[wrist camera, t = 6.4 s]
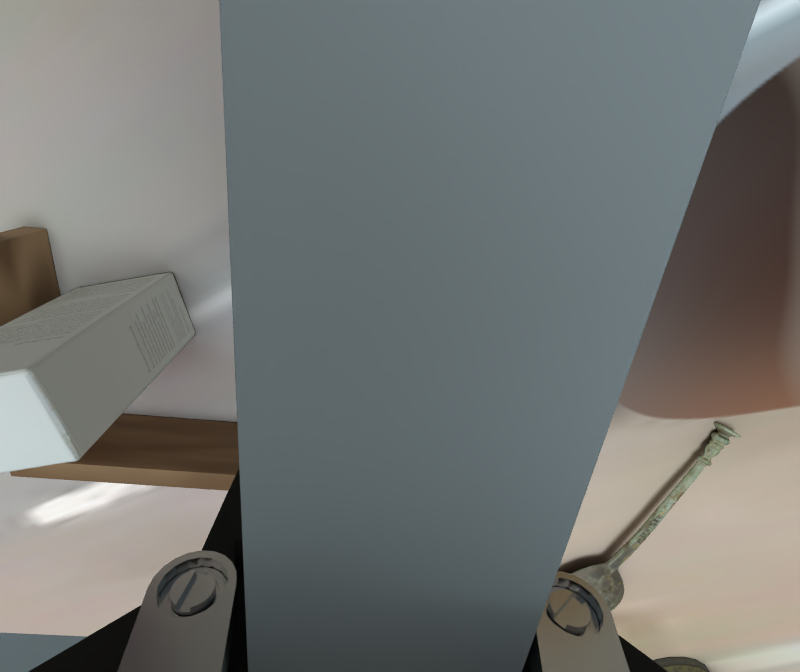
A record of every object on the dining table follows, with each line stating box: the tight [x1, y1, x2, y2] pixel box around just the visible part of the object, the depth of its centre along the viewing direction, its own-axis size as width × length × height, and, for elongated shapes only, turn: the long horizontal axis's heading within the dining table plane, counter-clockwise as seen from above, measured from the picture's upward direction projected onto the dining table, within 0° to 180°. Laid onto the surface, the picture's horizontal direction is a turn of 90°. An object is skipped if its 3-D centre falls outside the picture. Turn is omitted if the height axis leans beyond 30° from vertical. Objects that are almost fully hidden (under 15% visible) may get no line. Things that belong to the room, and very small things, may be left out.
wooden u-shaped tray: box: [0, 227, 239, 490], centre depth 26 cm, size 13×24×5 cm, turn 84°
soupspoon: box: [571, 422, 741, 611], centre depth 35 cm, size 22×3×7 cm
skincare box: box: [0, 272, 195, 473], centre depth 22 cm, size 6×4×12 cm
